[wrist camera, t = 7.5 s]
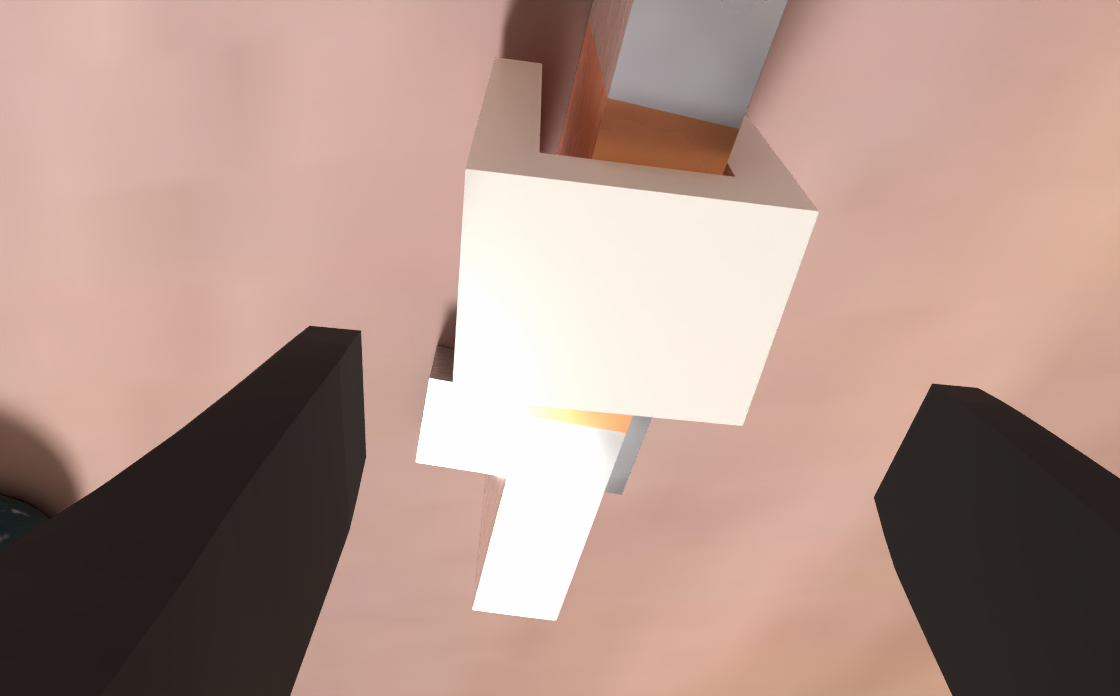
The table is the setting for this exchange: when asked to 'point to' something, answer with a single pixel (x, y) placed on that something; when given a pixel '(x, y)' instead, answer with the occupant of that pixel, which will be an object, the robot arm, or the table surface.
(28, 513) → the hammer
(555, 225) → the clip
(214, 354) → the table surface
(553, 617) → the grey and orange bar
